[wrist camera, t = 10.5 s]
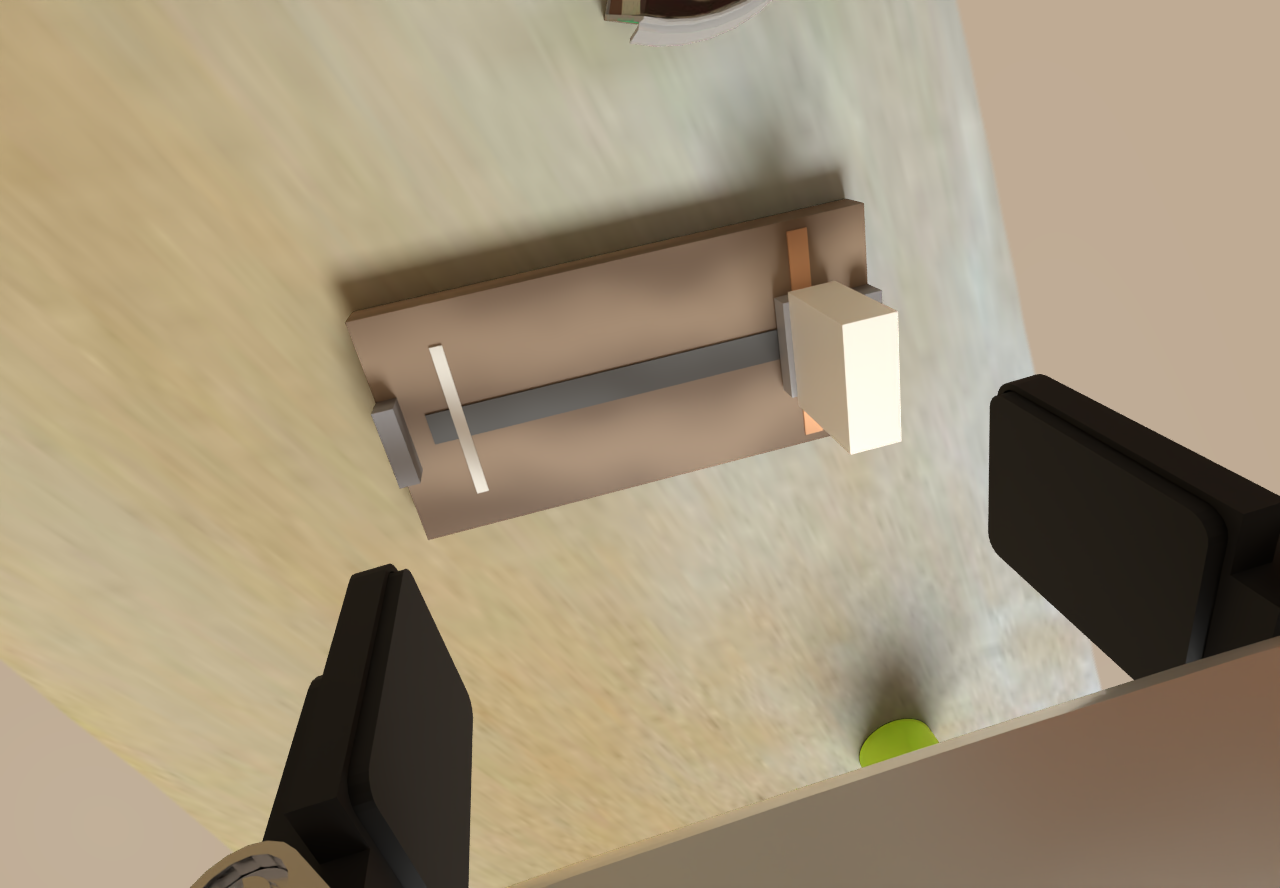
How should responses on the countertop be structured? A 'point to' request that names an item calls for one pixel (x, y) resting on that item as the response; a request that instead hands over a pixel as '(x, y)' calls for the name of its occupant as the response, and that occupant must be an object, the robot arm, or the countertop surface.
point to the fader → (842, 363)
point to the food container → (681, 18)
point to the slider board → (599, 367)
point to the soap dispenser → (895, 741)
